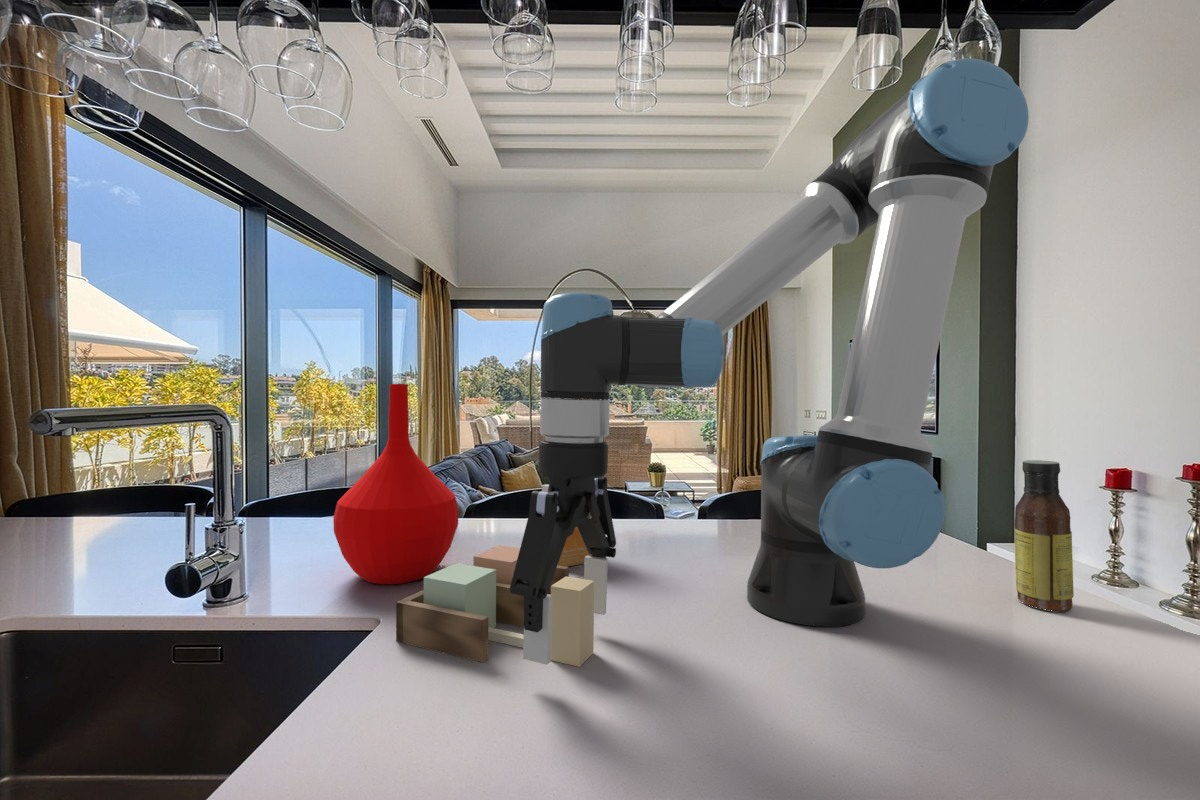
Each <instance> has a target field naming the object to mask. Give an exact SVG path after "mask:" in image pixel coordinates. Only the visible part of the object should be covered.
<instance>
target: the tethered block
mask: <svg viewBox="0 0 1200 800" xmlns="http://www.w3.org/2000/svg"><path fill="white" fill-rule="evenodd" d="M423 590H424V604H428V605H433V606H438V607H443V608H448V609H452V610H457V611H462V612H467V613H472V614H477V615H482V616H486V617H488V641H492V642H495V643H500V644H504V643H505V645H509V646H513V647H517V648H523V642H524V633H523V634H522V633H517V632H515V631H514V632H513V631H508V630H504V629H500V628H496V627H497V621H496V569H490V568H484V567H477V566H473V565H470V564H464V563H458V562H456V563H453V564H451V565H449V566H446V567H444V568H441V569H439V570H437V571H435V572H433V573H432V572H431V573H430V574H429V575H427V576H425V577H424V578H423ZM551 595H553V601H552V640H551V662H552V661H553V662H556V663H557V662H558V663H562V664H566V665H569V666H570V665H571V666H575V667H578V668H580V667H581V666H583V664H584V663H585V662H586V661H587V660H588V659H589V658H590V657H591V656H592V655H593V654H594V643H595V642H594V633H595V631H594V630H595V629H594V628H595V623H594V621H595V613H594V581H592V580H586V579H584V578H578V577H572V576H569V577H567V576H566V577H564V578H563V579H561V580H560V581H558V582H556V583H555V584H553V585H552V586H551Z"/></svg>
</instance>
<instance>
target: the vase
mask: <svg viewBox="0 0 1200 800" xmlns="http://www.w3.org/2000/svg"><path fill="white" fill-rule="evenodd" d="M408 391H409V390H408V383H407V384H406V383H389V398H388V400H389V401H388V439H387V442H386V444H385V445H386V446H384V449H383V451H382V453H381V454H380V455H379V456H378V457H377V459H376V460H375V461H374V462H373V463H372V464H371V465H370V467H368V469H367V470H366V472H365V473H364V474H363V475H362V476H361V477H360V478H359V479H358V480H357V481H356V482H355V483H354V484H353V485H352V486H351V487H350V488H349V489H348V490H347V491H346V492H345V493H344V494H343V495H342V496H341V497H340V498H339V499H338V501H336V505H335V510H334V514H333V518H332V519H333V534H334V536H335V539H336V541H337V544H338V546H339V549H340V552H341V555H342V557H343V559H344V560H345V561H346V563H347V564H348V566H350V569H352V571H353V572H354V573H355V574H356V575H358V576H359V577H360V578H361V579H363V580H364V581H366V582H367V583H371V584H375V585H400V584H401V585H402V584H405V583H412V582H415V581H418V580H421V579H424V577H425V576H428V575H430V574H432V572H433V571H434V570H436V569H437V567H438V566H439V565H440V564H441V562H442V561H443V559H444V558H445V556H446V554H447V553H448V551H449V550H450V548H451V547H452V543H453V541H454V538H455V534H456V531H457V528H458V525H459V508H458V502H457V497H456V495H455V493H454V492H453V491H452V490H451V489H450V488H449V487H448V486H447V485H445V483H444V482H443V481H442V480H440V479H439V477H438V476H436V474H434V473H433V471H432V470H431V469H430V468H429V467H428V466H427V465H426V464H425V462H424V461H423V460H422V459H421V458H420V456H418V455H417V454H416V452H415V450H414V449H413V446H412V445H411V440H410V437H409V422H410V421H409V392H408ZM411 581H412V582H411Z"/></svg>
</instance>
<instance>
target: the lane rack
mask: <svg viewBox="0 0 1200 800" xmlns="http://www.w3.org/2000/svg"><path fill="white" fill-rule="evenodd" d="M566 576H567V577H570V566H567V567H565V566H558V565H557V568H556V571H555V574H554V577H553V579H552V582H551V585H550V588H549V591H548V594H549V595H551V586H552V585H553V584H555V583H556V582H558V581H560V580H561V579H563V578H564V577H566ZM395 606H396V607H395V608H396V612H395V616H396V620H395V622H396V623H395V624H396V625H395V628H396V629H395V630H396V631H395V632H396V633H395V634H396V636H395V641H396V642H398V643H402V644H406V645H411V646H414V647H418V646H419V647H420V648H423V649H426V648H427V650H430V649H431V651H434V650H435V652H438V651H439V653H442V652H444V653H443V654H446V653H447V654H446V655H450V654H451V655H452V656H455V657H460V658H463V659H467V660H471V661H474V662H475V661H476V662H479V663H484V662H486V661H487V660H488V659H489V640H488V617H486V616H482V615H477V614H472V613H467V612H462V611H457V610H452V609H448V608H443V607H438V606H433V605H428V604H424V589H422V590H419V591H418V592H415V593H414V594H411V595H409V596H406V597H405V598H402V599H401V600H398V601H396V603H395ZM497 622H498V623H501V624H507V625H508V624H509V625H513V626H517V627H521V628H524V597H523V596H521V595H516V594H512V593H511V592H510V585H509V584H503V583H497V582H496V623H497ZM451 655H450V656H451Z"/></svg>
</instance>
